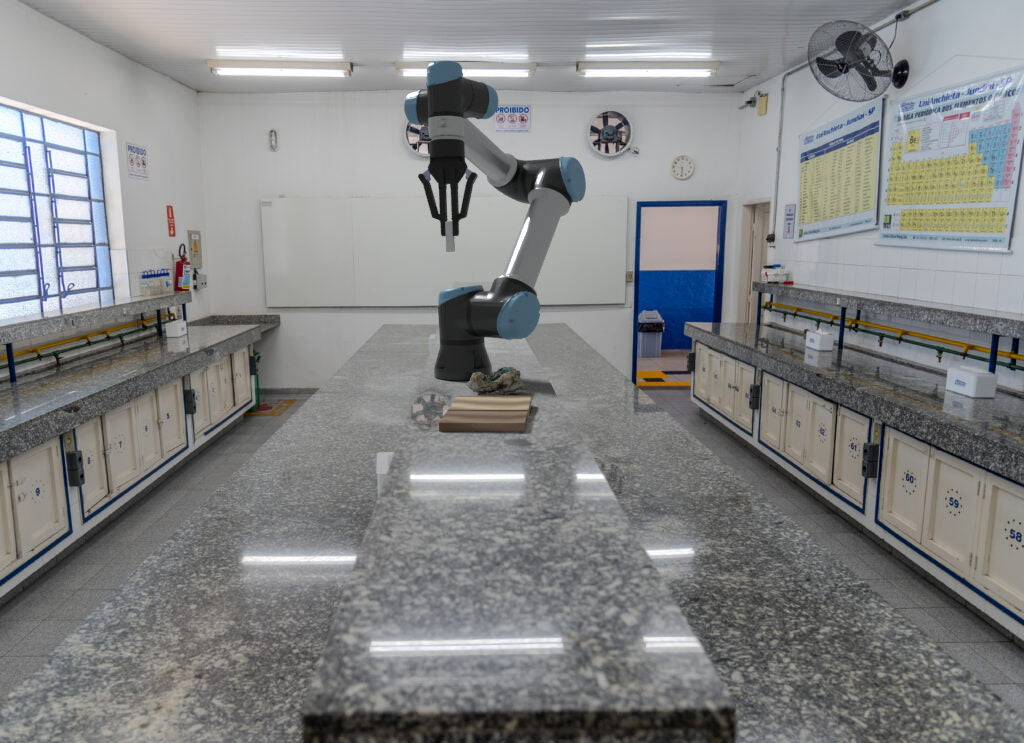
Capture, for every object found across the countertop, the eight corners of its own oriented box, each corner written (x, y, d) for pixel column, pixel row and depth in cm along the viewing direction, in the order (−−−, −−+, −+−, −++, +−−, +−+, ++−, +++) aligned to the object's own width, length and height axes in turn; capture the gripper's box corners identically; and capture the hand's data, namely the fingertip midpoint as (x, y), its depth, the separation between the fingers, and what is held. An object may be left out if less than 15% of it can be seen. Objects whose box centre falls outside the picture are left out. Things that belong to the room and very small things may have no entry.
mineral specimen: (526, 386, 164) (513, 355, 164) (526, 391, 155) (513, 358, 155) (477, 405, 165) (465, 374, 164) (475, 411, 156) (462, 378, 155)
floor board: (448, 417, 140) (448, 409, 140) (528, 417, 139) (528, 409, 138) (439, 431, 130) (438, 422, 130) (524, 431, 129) (524, 422, 129)
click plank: (457, 402, 150) (456, 395, 150) (531, 402, 149) (531, 395, 148) (448, 416, 141) (448, 408, 140) (528, 416, 139) (528, 409, 139)
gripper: (412, 138, 147) (417, 252, 151) (474, 136, 146) (477, 251, 150) (420, 143, 154) (425, 251, 159) (479, 141, 153) (482, 250, 157)
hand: (450, 251), depth 154 cm, fingers closed
